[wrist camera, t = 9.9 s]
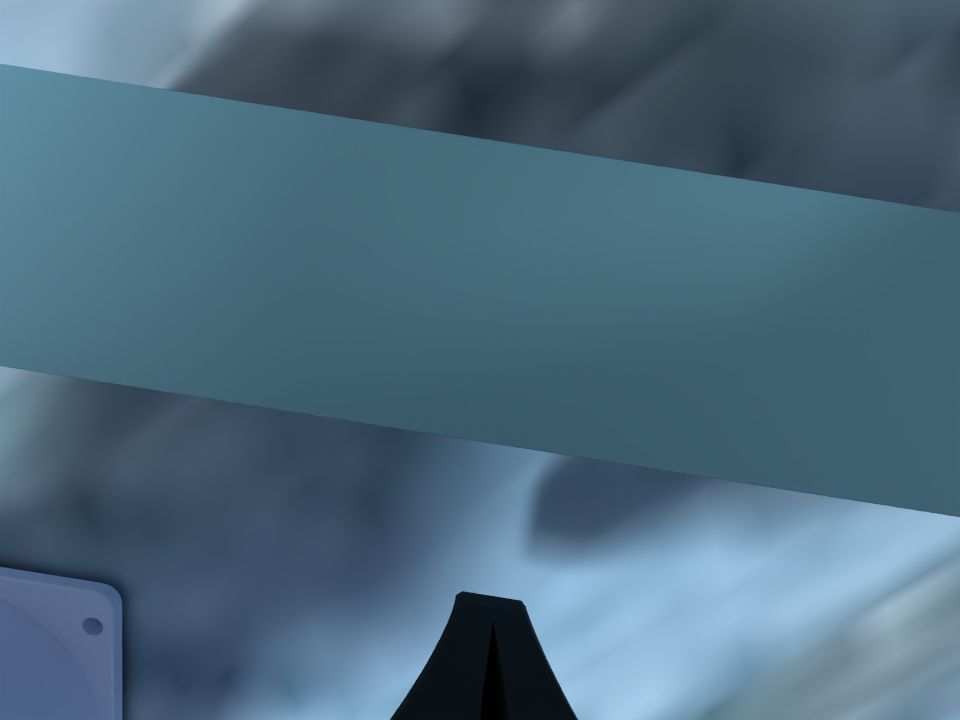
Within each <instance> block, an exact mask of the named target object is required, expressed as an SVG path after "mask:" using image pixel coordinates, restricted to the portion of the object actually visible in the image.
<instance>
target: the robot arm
mask: <svg viewBox="0 0 960 720" xmlns="http://www.w3.org/2000/svg"><path fill="white" fill-rule="evenodd" d="M96 619H97V620H99V621H100V622H101V623H99V622H98V621H97V620H96ZM0 720H122V601H121V596H120V595H119V593H118V592H117V590H116V589H114V588H113V587H112V586H110V585H107V584H104V583H99V582H92V581H86V580H80V579H74V578H67V577H61V576H55V575H48V574H42V573H36V572H30V571H23V570H17V569H11V568H4V567H0ZM390 720H578V719H577V717H576V715H575V714H574V712H573V710H572V708H571V706H570V704H569V703H568V701H567V699H566V697H565V695H564V693H563V691H562V689H561V687H560V685H559V683H558V681H557V679H556V677H555V675H554V673H553V671H552V669H551V667H550V665H549V663H548V661H547V659H546V656H545V654H544V652H543V650H542V647H541V645H540V643H539V641H538V638H537V636H536V633H535V631H534V628H533V626H532V623H531V621H530V618H529V615H528V613H527V610H526V607H525V605H524V604H523V602H522V601H520V600H514V599H508V598H501V597H495V596H489V595H482V594H476V593H470V592H463V591H462V592H460V593H459V594H457V595H456V598H455V603H454V606H453V610H452V613H451V615H450V618H449V620H448V623H447V625H446V627H445V629H444V631H443V634H442V636H441V638H440V640H439V642H438V643H437V645H436V647H435V649H434V651H433V653H432V655H431V656H430V658H429V660H428V662H427V664H426V665H425V667H424V669H423V671H422V672H421V674H420V675H419V677H418V678H417V680H416V682H415V683H414V685H413V686H412V688H411V689H410V691H409V693H408V694H407V696H406V697H405V699H404V700H403V702H402V703H401V705H400V706H399V708H398V709H397V710H396V712H395V713H394V715H393V716H392V717H391V719H390Z"/></svg>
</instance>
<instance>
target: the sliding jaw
mask: <svg viewBox="0 0 960 720" xmlns="http://www.w3.org/2000/svg"><path fill="white" fill-rule="evenodd" d="M0 366H4V367H10V368H17V369H23V370H29V371H36V372H42V373H48V374H55V375H61V376H67V377H74V378H80V379H87V380H93V381H99V382H106V383H112V384H118V385H125V386H131V387H137V388H144V389H150V390H156V391H163V392H169V393H175V394H182V395H188V396H194V397H201V398H207V399H214V400H220V401H226V402H233V403H239V404H245V405H252V406H258V407H264V408H271V409H277V410H283V411H290V412H296V413H302V414H309V415H315V416H321V417H328V418H334V419H341V420H347V421H353V422H360V423H366V424H372V425H379V426H385V427H391V428H398V429H404V430H410V431H417V432H423V433H429V434H436V435H442V436H448V437H455V438H461V439H468V440H474V441H480V442H487V443H493V444H499V445H506V446H512V447H518V448H525V449H531V450H537V451H544V452H550V453H556V454H563V455H569V456H575V457H582V458H588V459H594V460H601V461H607V462H614V463H620V464H626V465H633V466H639V467H645V468H652V469H658V470H664V471H671V472H677V473H683V474H690V475H696V476H702V477H709V478H715V479H721V480H728V481H734V482H741V483H747V484H753V485H760V486H766V487H772V488H779V489H785V490H791V491H798V492H804V493H810V494H817V495H823V496H829V497H836V498H842V499H848V500H855V501H861V502H868V503H874V504H880V505H887V506H893V507H899V508H906V509H912V510H918V511H925V512H931V513H937V514H944V515H950V516H956V517H960V213H958V212H952V211H946V210H939V209H933V208H926V207H920V206H913V205H907V204H900V203H894V202H888V201H881V200H875V199H868V198H862V197H855V196H849V195H842V194H836V193H829V192H823V191H817V190H810V189H804V188H797V187H791V186H784V185H778V184H771V183H765V182H759V181H752V180H746V179H739V178H733V177H726V176H720V175H713V174H707V173H701V172H694V171H688V170H681V169H675V168H668V167H662V166H655V165H649V164H643V163H636V162H630V161H623V160H617V159H610V158H604V157H597V156H591V155H584V154H578V153H572V152H565V151H559V150H552V149H546V148H539V147H533V146H526V145H520V144H514V143H507V142H501V141H494V140H488V139H481V138H475V137H468V136H462V135H456V134H449V133H443V132H436V131H430V130H423V129H417V128H410V127H404V126H398V125H391V124H385V123H378V122H372V121H365V120H359V119H352V118H346V117H339V116H333V115H327V114H320V113H314V112H307V111H301V110H294V109H288V108H281V107H275V106H269V105H262V104H256V103H249V102H243V101H236V100H230V99H223V98H217V97H211V96H204V95H198V94H191V93H185V92H178V91H172V90H165V89H159V88H153V87H146V86H140V85H133V84H127V83H120V82H114V81H107V80H101V79H94V78H88V77H82V76H75V75H69V74H62V73H56V72H49V71H43V70H36V69H30V68H24V67H17V66H11V65H4V64H0Z"/></svg>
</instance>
